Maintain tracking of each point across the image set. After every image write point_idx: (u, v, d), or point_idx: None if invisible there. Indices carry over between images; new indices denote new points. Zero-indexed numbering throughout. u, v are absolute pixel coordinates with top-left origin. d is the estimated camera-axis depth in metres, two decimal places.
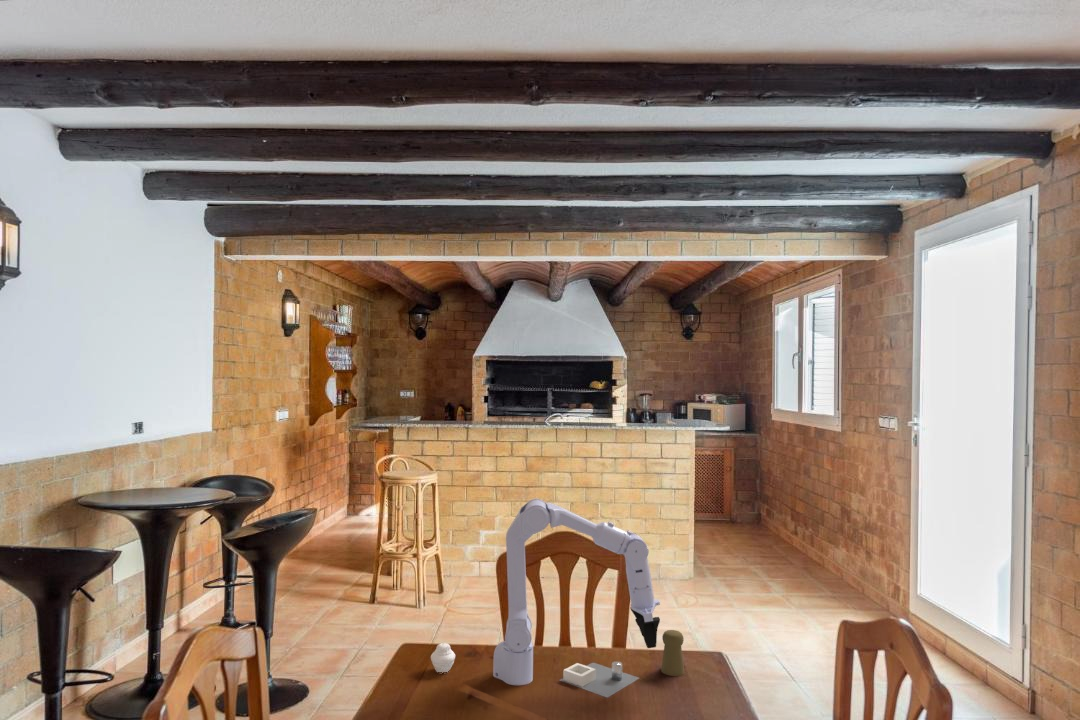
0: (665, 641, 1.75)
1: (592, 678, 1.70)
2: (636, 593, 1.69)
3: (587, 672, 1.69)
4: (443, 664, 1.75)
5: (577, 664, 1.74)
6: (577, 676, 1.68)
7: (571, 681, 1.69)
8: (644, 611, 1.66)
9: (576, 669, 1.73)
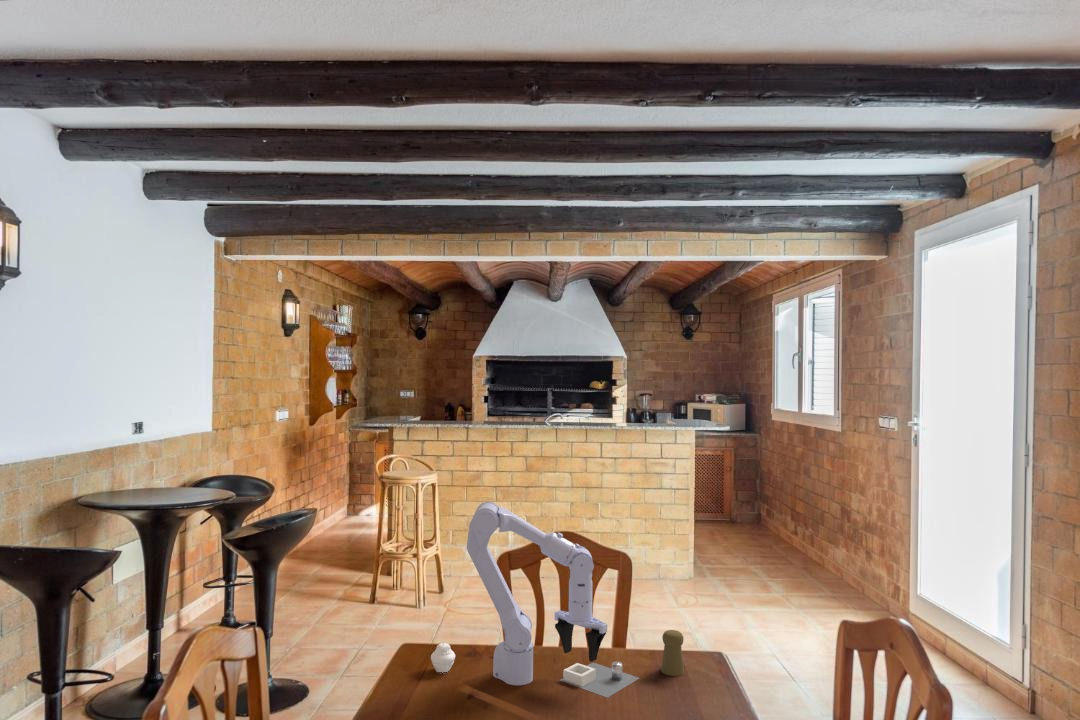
0: (665, 641, 1.75)
1: (592, 678, 1.70)
2: (585, 607, 1.68)
3: (587, 672, 1.69)
4: (443, 664, 1.75)
5: (577, 664, 1.74)
6: (577, 676, 1.68)
7: (571, 681, 1.69)
8: (595, 623, 1.67)
9: (576, 669, 1.73)
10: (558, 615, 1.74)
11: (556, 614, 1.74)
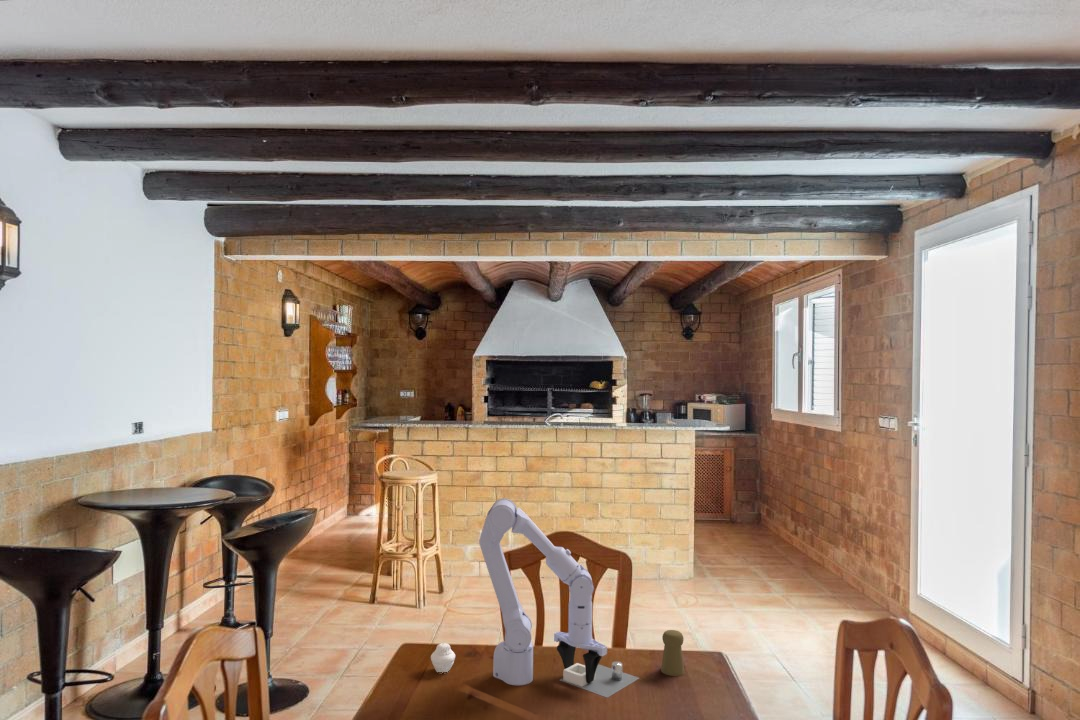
0: (665, 641, 1.75)
1: None
2: (584, 629, 1.68)
3: None
4: (443, 664, 1.75)
5: (577, 664, 1.74)
6: (577, 676, 1.68)
7: (571, 681, 1.69)
8: (595, 646, 1.67)
9: (576, 669, 1.73)
10: (558, 636, 1.74)
11: (556, 635, 1.74)
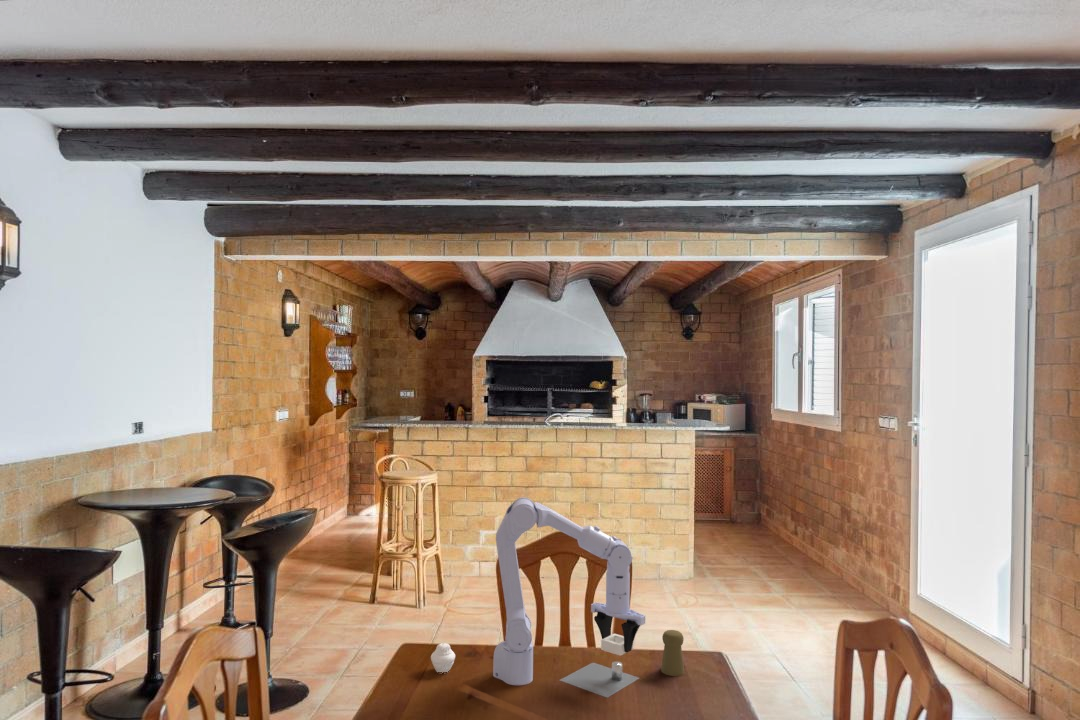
0: (665, 641, 1.75)
1: None
2: (623, 599, 1.69)
3: None
4: (443, 664, 1.75)
5: (614, 634, 1.75)
6: (615, 645, 1.69)
7: (609, 650, 1.70)
8: (633, 615, 1.68)
9: (613, 640, 1.74)
10: (595, 607, 1.75)
11: (593, 606, 1.75)
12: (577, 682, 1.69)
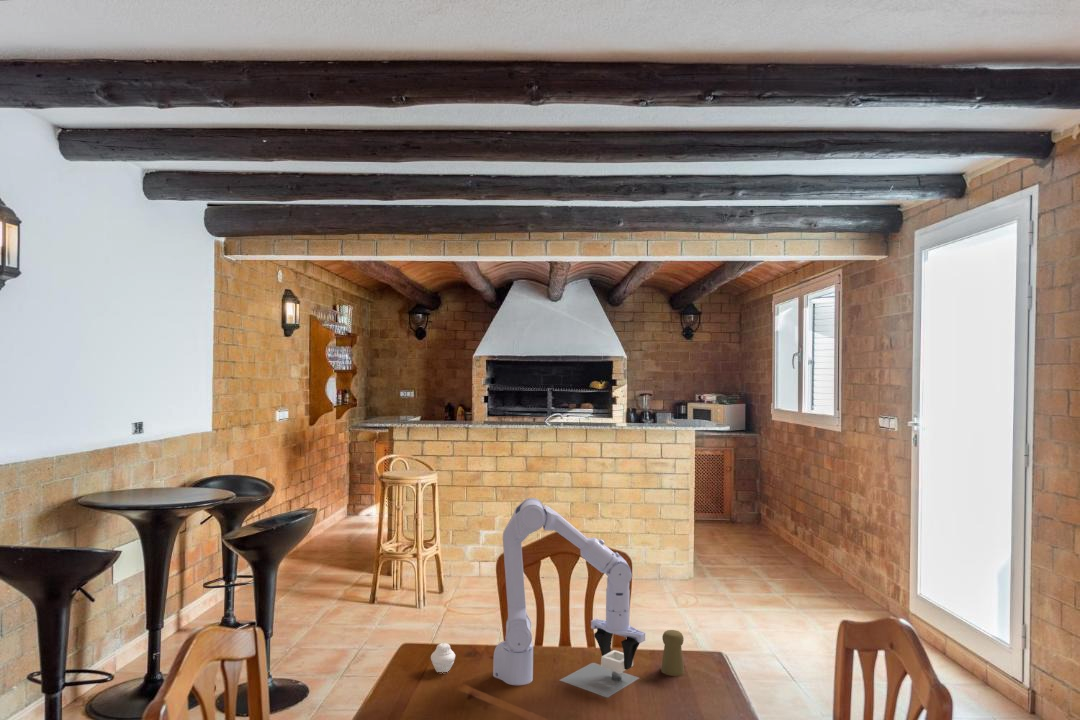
0: (665, 641, 1.75)
1: None
2: (622, 616, 1.69)
3: None
4: (443, 664, 1.75)
5: (614, 651, 1.75)
6: (615, 662, 1.68)
7: (609, 667, 1.70)
8: (633, 632, 1.68)
9: (613, 656, 1.74)
10: (595, 624, 1.75)
11: (593, 623, 1.75)
12: (577, 682, 1.69)
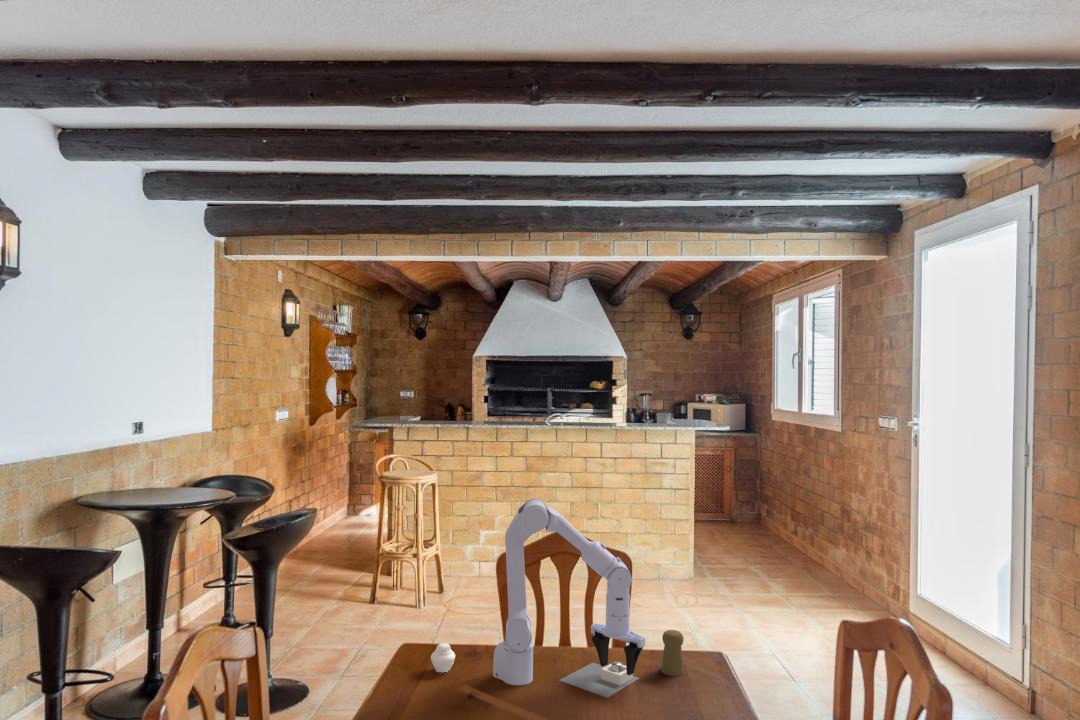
0: (665, 641, 1.75)
1: (630, 677, 1.71)
2: (622, 621, 1.69)
3: (625, 671, 1.70)
4: (443, 664, 1.75)
5: None
6: (615, 675, 1.68)
7: (609, 680, 1.69)
8: (633, 637, 1.68)
9: None
10: (595, 628, 1.74)
11: (592, 627, 1.75)
12: (577, 682, 1.69)
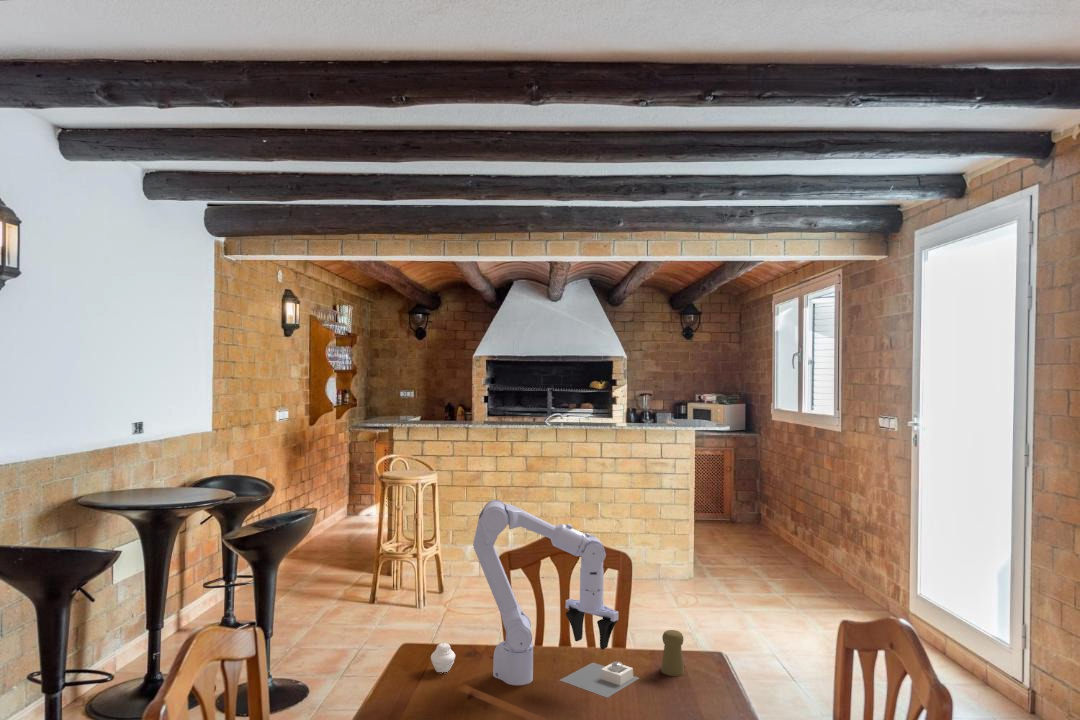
0: (665, 641, 1.75)
1: (630, 677, 1.71)
2: (596, 595, 1.69)
3: (625, 671, 1.70)
4: (443, 664, 1.75)
5: None
6: (615, 675, 1.68)
7: (609, 680, 1.69)
8: (606, 612, 1.68)
9: None
10: (569, 603, 1.75)
11: (567, 602, 1.75)
12: (577, 682, 1.69)
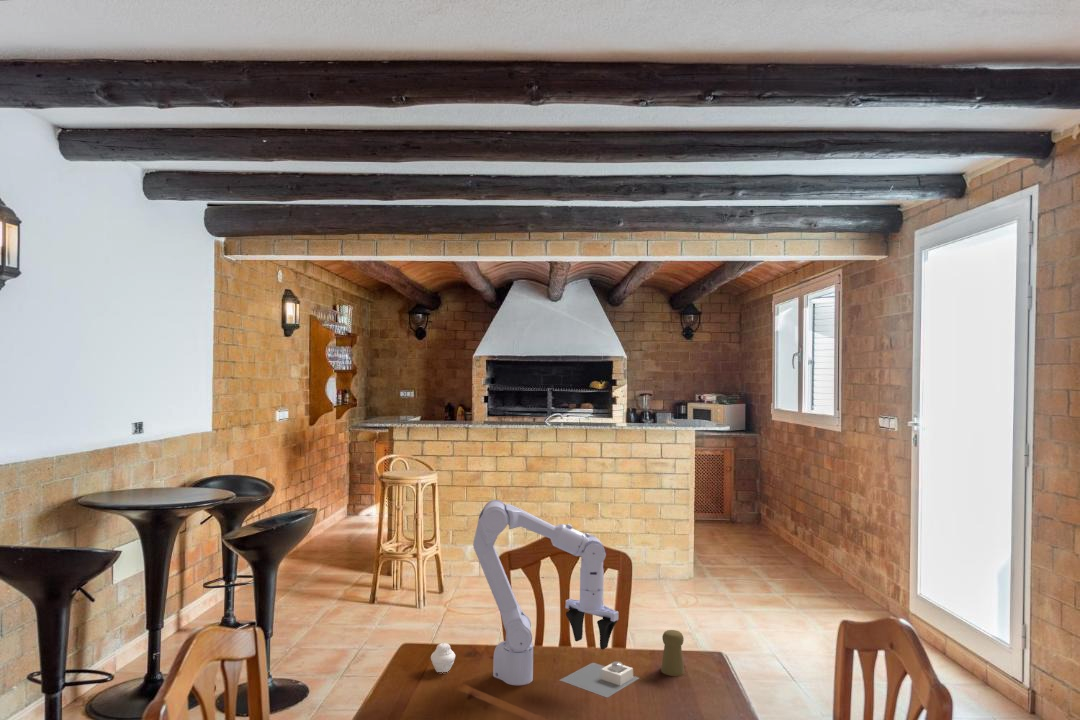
0: (665, 641, 1.75)
1: (630, 677, 1.71)
2: (596, 595, 1.69)
3: (625, 671, 1.70)
4: (443, 664, 1.75)
5: None
6: (615, 675, 1.68)
7: (609, 680, 1.69)
8: (606, 611, 1.68)
9: None
10: (569, 603, 1.75)
11: (567, 602, 1.75)
12: (577, 682, 1.69)
